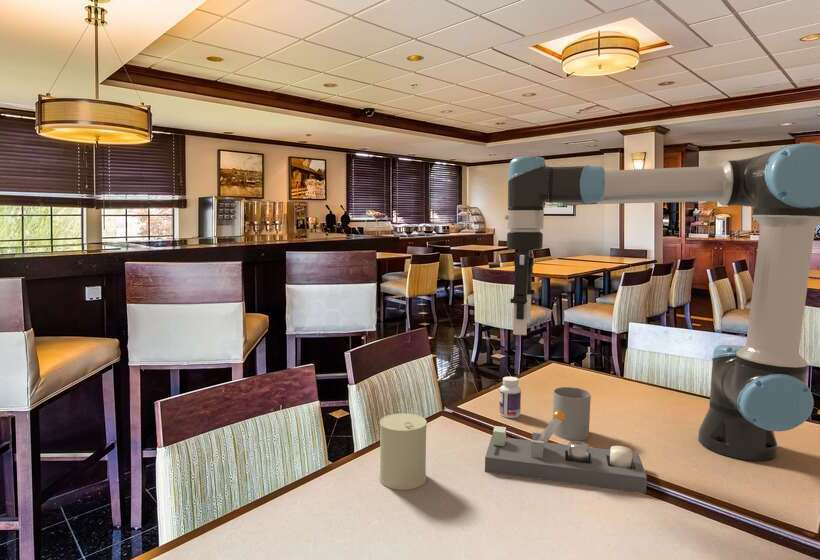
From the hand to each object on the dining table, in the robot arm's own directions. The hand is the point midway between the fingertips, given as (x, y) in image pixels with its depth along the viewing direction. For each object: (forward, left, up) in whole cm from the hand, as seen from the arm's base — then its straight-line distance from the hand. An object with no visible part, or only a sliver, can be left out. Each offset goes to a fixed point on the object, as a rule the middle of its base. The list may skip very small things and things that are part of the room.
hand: (522, 328), depth 116 cm
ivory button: (-20, +9, -25) cm, 33 cm away
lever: (-4, +9, -23) cm, 25 cm away
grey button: (-12, +9, -25) cm, 29 cm away
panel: (-9, +9, -27) cm, 30 cm away
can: (+21, +22, -27) cm, 40 cm away
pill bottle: (+4, -19, -27) cm, 33 cm away
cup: (-11, -11, -27) cm, 31 cm away
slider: (+4, +7, -24) cm, 25 cm away
